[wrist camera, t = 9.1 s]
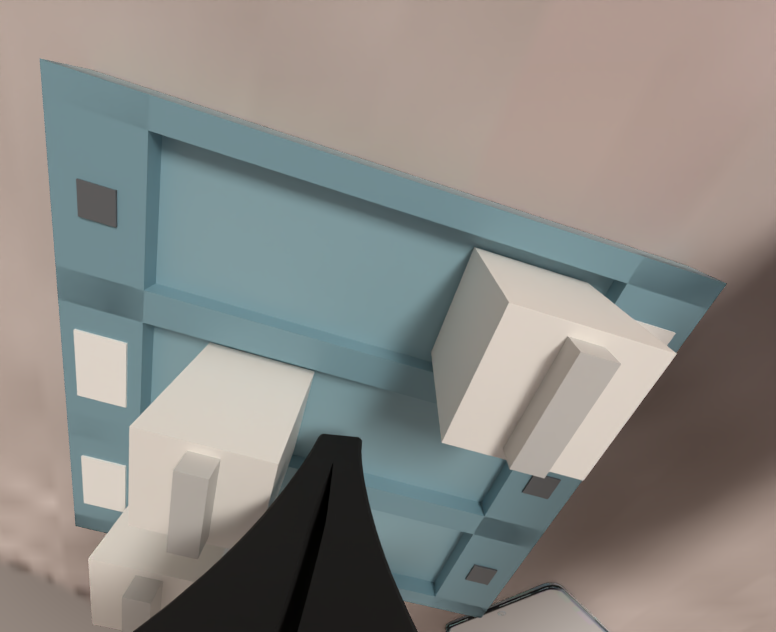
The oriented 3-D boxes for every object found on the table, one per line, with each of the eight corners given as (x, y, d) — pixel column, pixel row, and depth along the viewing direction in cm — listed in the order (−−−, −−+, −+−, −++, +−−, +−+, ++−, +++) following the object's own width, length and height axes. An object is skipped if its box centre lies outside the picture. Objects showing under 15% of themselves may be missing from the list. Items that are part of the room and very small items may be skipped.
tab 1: (314, 371, 13) (270, 484, 9) (294, 448, 14) (248, 577, 10) (210, 342, 12) (111, 445, 8) (200, 424, 14) (112, 547, 10)
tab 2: (257, 476, 15) (199, 608, 11) (244, 534, 16) (190, 669, 12) (166, 454, 15) (71, 580, 10) (162, 515, 16) (77, 646, 12)
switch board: (687, 265, 12) (728, 284, 10) (475, 581, 19) (481, 620, 17) (91, 69, 10) (37, 58, 9) (103, 493, 17) (74, 527, 16)
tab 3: (587, 283, 11) (698, 370, 7) (532, 381, 13) (595, 502, 8) (474, 246, 11) (517, 316, 7) (430, 352, 12) (443, 463, 8)
